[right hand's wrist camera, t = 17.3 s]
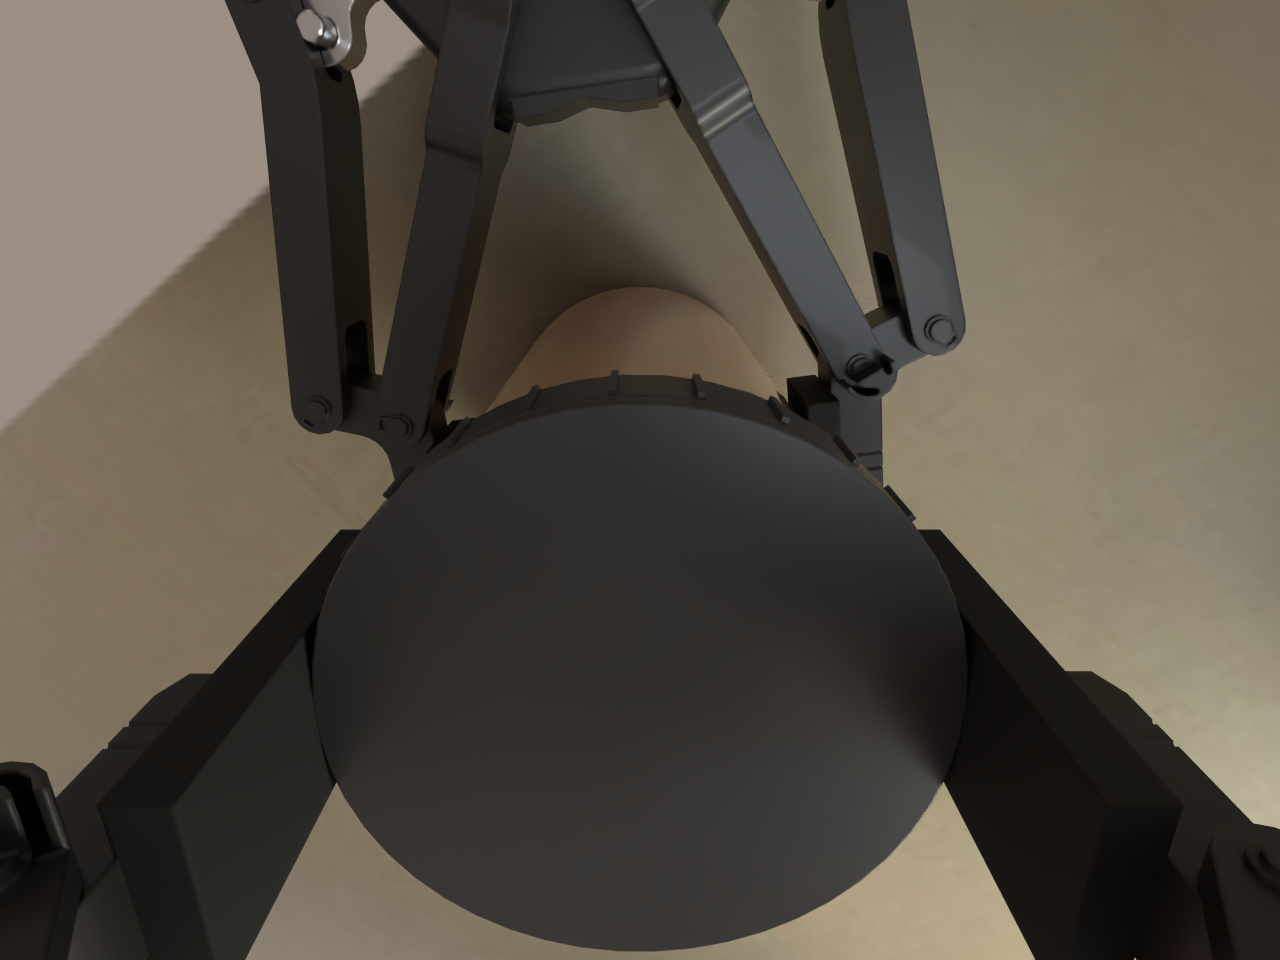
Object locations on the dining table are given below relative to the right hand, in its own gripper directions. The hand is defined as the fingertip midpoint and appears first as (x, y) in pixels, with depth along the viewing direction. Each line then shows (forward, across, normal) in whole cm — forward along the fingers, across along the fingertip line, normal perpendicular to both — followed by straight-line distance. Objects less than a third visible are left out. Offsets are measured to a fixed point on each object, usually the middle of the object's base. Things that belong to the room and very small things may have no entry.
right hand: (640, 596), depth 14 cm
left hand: (+6, +1, -5) cm, 8 cm away
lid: (-3, 0, 0) cm, 3 cm away
